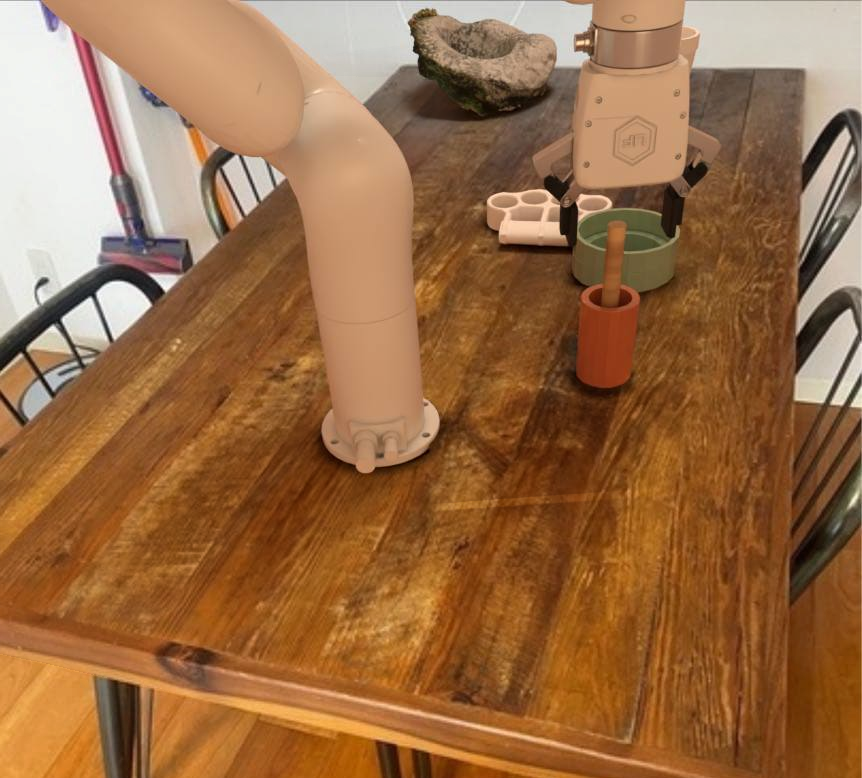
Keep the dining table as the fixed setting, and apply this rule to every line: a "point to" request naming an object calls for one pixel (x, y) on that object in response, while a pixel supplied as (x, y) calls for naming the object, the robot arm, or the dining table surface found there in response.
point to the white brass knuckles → (535, 216)
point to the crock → (606, 337)
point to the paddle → (613, 264)
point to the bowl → (626, 249)
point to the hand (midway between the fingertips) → (618, 236)
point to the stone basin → (482, 60)
